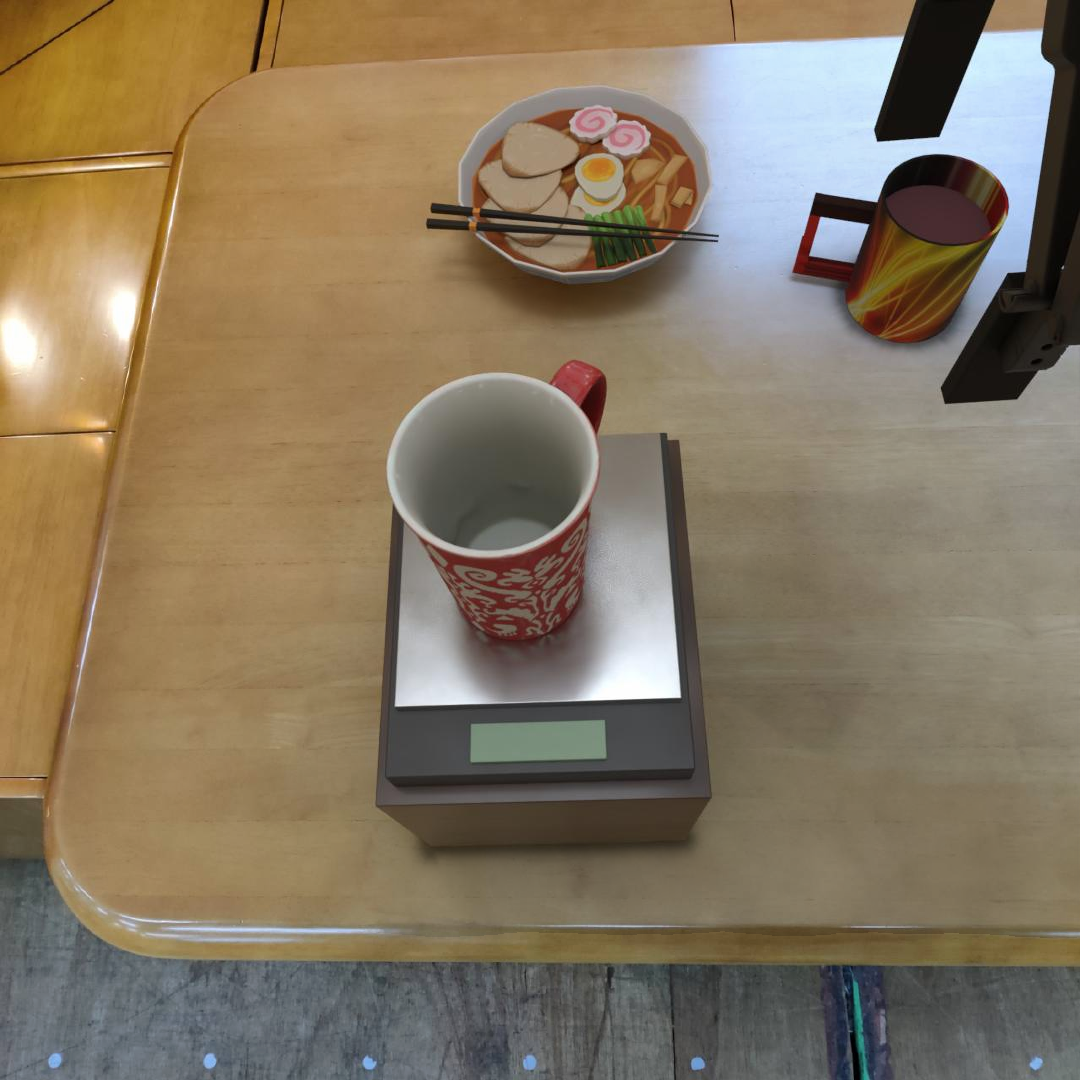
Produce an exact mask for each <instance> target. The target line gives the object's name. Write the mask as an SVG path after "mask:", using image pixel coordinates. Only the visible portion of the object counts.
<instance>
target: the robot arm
mask: <svg viewBox="0 0 1080 1080" xmlns="http://www.w3.org/2000/svg"><path fill="white" fill-rule="evenodd" d="M995 2H996V0H915V2H914V5H913V8H912V11H911V13H910V17H909V20H908V23H907V27H906V30H905V31H904V32H905V33H904V36H903V38H902V42H901V44H900V48H899V51H898V54H897V57H896V60H895V64H894V66H893V70H892V72H891V76H890V79H889V82H888V85H887V88H886V92H885V94H884V97H883V101H882V104H881V107H880V109H879V113H878V115H877V118H876V122H875V125H874V128H873V130H874V131H873V133H874V135H875V139H876V142H877V143H883V142H894V141H895V142H896V141H897V142H898V141H906V140H907V141H908V140H909V141H910V140H923V139H933V138H940V137H941V134H942V132H943V130H944V127H945V124H946V122H947V121H948V117H949V115H950V112H951V110H952V107H953V105H954V102H955V100H956V97H957V96H958V93H959V90H960V88H961V86H962V83H963V80H964V78H965V76H966V73H967V72H968V69H969V66H970V63H971V61H972V59H973V55H974V53H975V52H976V48H977V47H978V43H979V41H980V39H981V36H982V34H983V31H984V29H985V26H986V24H987V21H988V19H989V17H990V14H991V12H992V9H993V6H994V4H995ZM1044 12H1045V13H1044V20H1043V27H1042V32H1041V33H1042V35H1041V41H1040V54H1041V56H1042V58H1043V60H1045V61H1046V62H1047V63H1049V64H1050V65H1052V67H1053V71H1054V74H1053V82H1052V88H1051V95H1050V101H1049V102H1050V103H1049V109H1048V110H1049V111H1048V116H1047V122H1046V130H1045V138H1044V143H1043V148H1042V149H1043V151H1042V157H1041V164H1040V171H1039V178H1038V182H1037V183H1038V184H1037V192H1036V198H1035V203H1034V212H1033V218H1032V225H1031V230H1030V238H1029V246H1028V252H1027V259H1026V266H1025V271H1016V272H1015V271H1014V272H1007V273H1006V275H1005V277H1004V279H1003V280H1002V282H1001V284H1000V285H999V287H998V289H997V290H996V292H995V294H994V295H993V297H992V298H991V300H990V302H989V304H988V305H987V307H986V309H985V311H984V312H983V314H982V316H981V318H980V319H979V321H978V323H977V324H976V326H975V328H974V329H973V331H972V333H971V335H970V337H969V338H968V340H967V341H966V343H965V344H964V346H963V349H961V351H960V353H959V355H958V357H957V358H956V360H955V362H954V364H953V366H952V367H951V369H950V370H949V372H948V374H947V376H946V377H945V379H944V381H942V384H941V386H940V391H941V395H942V398H943V404H944V405H952V404H953V405H954V404H955V405H957V404H969V403H984V402H985V403H986V402H999V401H1000V402H1002V401H1017V400H1019V399H1020V397H1021V395H1022V394H1023V393H1024V392H1025V390H1026V389H1027V387H1028V386H1029V384H1030V383H1031V382H1032V381H1033V380H1034V378H1035V376H1036V375H1037V374H1038V372H1039V371H1047V370H1049V369H1051V368H1053V367H1055V365H1056V364H1057V363H1058V362H1059V360H1060V359H1061V357H1062V356H1063V355H1064V353H1065V352H1066V351H1067V349H1069V347H1070V346H1080V0H1046V5H1045V11H1044Z"/></svg>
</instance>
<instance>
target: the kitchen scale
mask: <svg viewBox="0 0 1080 1080" xmlns="http://www.w3.org/2000/svg"><path fill="white" fill-rule="evenodd" d="M597 440H598V443H599V448H600V459H601V461H600V474H599V480H598V483H597V487H596V490H595V493H594V495H593V497H592V506H591V514H590V521H589V530H588V541H587V552H586V560H585V571H584V581H583V587H582V591H581V594H580V597H579V600H578V602H577V604H576V605H575V607H574V609H573V611H572V612H571V613H570V614H569V616H568V617H567V618H566V619H565V620H564V621H563V622H562V623H561V624H559V625H558V626H557V627H555V628H554V629H553V630H551V631H549V632H547V633H545V634H542V635H540V636H537V637H535V638H530V639H522V640H508V639H502V638H498V637H495V636H492V635H490V634H488V633H485V632H484V631H482V630H480V629H479V628H478V627H476V626H475V625H474V624H472V623H471V622H470V621H469V620H468V619H467V617H466V616H465V615H464V614H463V612H462V611H461V609H460V608H459V606H458V605H457V603H456V601H455V599H454V597H453V596H452V594H451V593H450V591H449V589H448V587H447V586H446V584H445V582H444V581H443V579H442V578H441V576H440V574H439V572H438V571H437V569H436V567H435V566H434V563H433V562H432V560H431V559H430V557H429V555H428V554H427V552H426V550H425V549H424V547H423V546H422V544H421V542H420V541H419V539H418V537H417V535H416V534H415V533H414V532H413V531H412V530H411V529H410V528H409V527H408V526H407V525H406V523H405V522H404V521H403V520H402V518H401V516H400V515H399V521H398V540H397V558H396V577H395V595H394V614H393V633H392V651H391V670H390V688H389V707H388V725H387V744H386V762H385V778H386V779H387V780H388V781H389V782H390V783H392V784H393V785H394V786H396V787H401V786H438V785H475V784H512V783H550V782H587V781H624V780H661V779H690V778H691V777H692V775H693V773H694V771H695V768H696V766H695V754H694V743H693V731H692V719H691V707H690V696H689V684H688V672H687V660H686V649H685V637H684V625H683V614H682V602H681V590H680V578H679V567H678V555H677V543H676V531H675V520H674V508H673V496H672V485H671V473H670V461H669V449H668V440H669V439H668V433H667V432H645V433H624V434H623V433H622V434H621V433H620V434H600V435H598V434H597Z"/></svg>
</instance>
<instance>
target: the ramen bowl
mask: <svg viewBox="0 0 1080 1080" xmlns="http://www.w3.org/2000/svg"><path fill="white" fill-rule="evenodd" d="M710 162H711V161H710V156H709V149H708V147H707V145H706V144H705V142H704V141H703V140H702V138H701V137H700V136H699V134H698V133H697V131H696V130H695V129H694V127H693V126H692V124H691V123H690V122H689V120H688V119H687V117H686V116H685V115H683V114H682V113H680V112H678V111H676V110H675V109H673V108H672V107H669V106H668V105H666V104H665V103H662V102H661V101H660V100H657V99H656V98H654V97H652V96H650V95H649V94H648V93H647V94H646V93H642V92H637V91H634V90H629V89H624V88H620V87H615V86H611V85H606V84H592V85H591V84H590V85H589V84H588V85H576V86H562V87H561V86H560V87H554V88H550V89H548V90H545V91H543V92H540V93H537V94H534V95H531V96H528V97H525V98H523V99H520V100H517V101H515V102H511V103H510V104H508V105H507V106H506V107H504V108H503V109H502V110H501V111H500V112H499V113H498V114H496V115H495V116H494V117H492V118H491V119H489V121H487V122H486V123H485V124H484V125H482V126H481V127H480V128H478V129H477V131H476V132H475V134H474V136H473V138H472V140H471V141H470V143H469V145H468V147H467V148H466V150H465V152H464V154H463V155H462V156H461V159H460V161H459V162H458V164H457V165H458V166H457V169H458V173H457V177H458V179H457V202H458V204H459V205H455V204H446V203H437V202H431V204H430V207H429V209H430V214H435V215H436V214H437V215H449V216H459V217H462V216H463V217H466V219H467V220H457V219H456V220H455V219H443V218H431V217H429V218H428V217H426V221H425V225H426V226H425V227H426V229H427V230H444V231H445V230H447V231H467V232H469V231H473V232H474V234H475V236H476V237H477V238H478V239H479V240H480V241H481V242H482V243H483V244H484V245H485V246H487V247H488V248H489V249H491V250H492V251H494V252H495V253H496V254H498V255H499V256H501V257H502V258H503V259H504V260H506V261H508V262H509V263H511V264H512V265H513V266H515V267H516V268H517V269H519V270H520V271H523V272H524V273H526V274H528V275H529V274H530V275H533V276H537V277H540V278H544V279H547V280H552V281H555V282H557V283H562V284H565V285H575V284H590V283H606V282H607V283H608V282H611V281H614V280H616V279H619V278H622V277H624V276H627V275H630V274H632V273H635V272H638V271H640V270H643V269H645V268H648V267H650V266H652V265H654V264H655V263H656V262H658V261H659V260H660V259H661V258H662V257H663V256H664V255H666V253H668V252H669V251H670V250H671V249H672V248H673V247H674V246H676V244H678V243H679V242H681V241H683V242H702V243H703V242H704V243H705V242H706V243H719V239H712V238H720V235H719V234H713V233H705V232H697V231H696V232H695V231H691V230H692V229H693V228H694V227H695V226H696V224H697V223H698V221H699V219H700V217H701V215H702V213H703V210H704V208H705V205H706V203H707V200H708V199H709V196H710V193H711V190H712V189H713V186H714V183H713V177H712V170H711V163H710ZM686 235H687V236H699V237H711V239H710V238H709V239H708V238H696V237H685V236H686Z"/></svg>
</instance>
